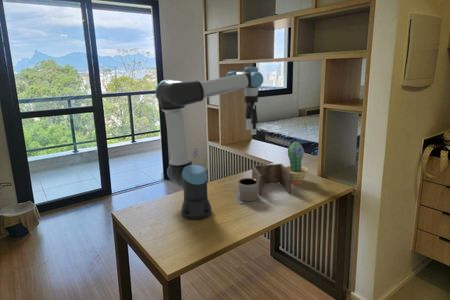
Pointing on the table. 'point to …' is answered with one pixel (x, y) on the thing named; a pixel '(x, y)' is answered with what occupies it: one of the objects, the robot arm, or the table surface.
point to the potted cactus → (296, 163)
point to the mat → (249, 201)
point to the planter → (247, 189)
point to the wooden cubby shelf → (272, 176)
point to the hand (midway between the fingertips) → (251, 132)
